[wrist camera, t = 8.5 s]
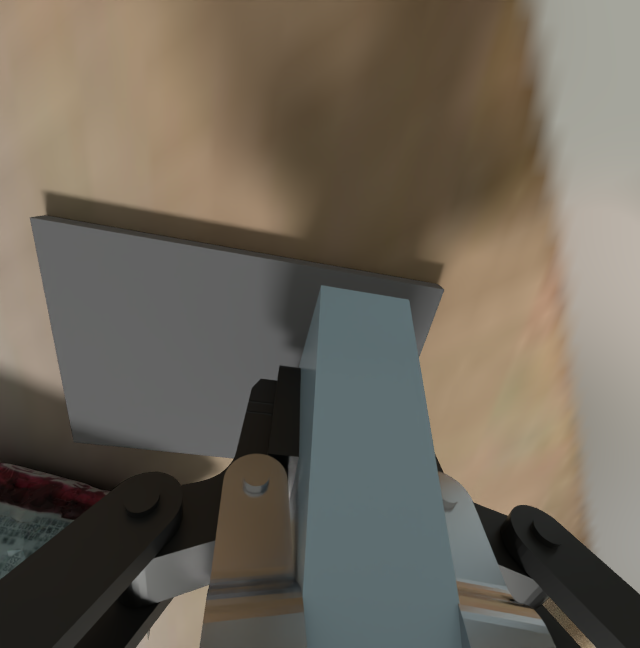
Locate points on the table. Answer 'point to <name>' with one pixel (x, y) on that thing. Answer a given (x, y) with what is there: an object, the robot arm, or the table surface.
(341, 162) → the table surface
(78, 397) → the mat
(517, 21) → the table surface
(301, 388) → the block
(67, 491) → the packaged food
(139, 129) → the table surface
